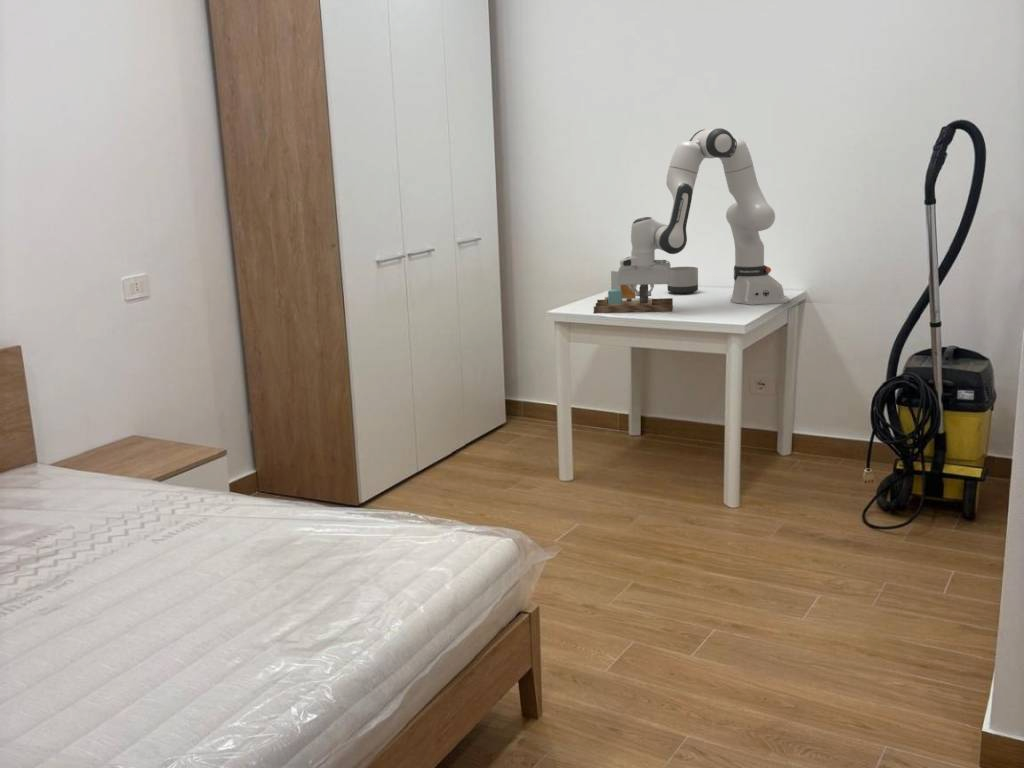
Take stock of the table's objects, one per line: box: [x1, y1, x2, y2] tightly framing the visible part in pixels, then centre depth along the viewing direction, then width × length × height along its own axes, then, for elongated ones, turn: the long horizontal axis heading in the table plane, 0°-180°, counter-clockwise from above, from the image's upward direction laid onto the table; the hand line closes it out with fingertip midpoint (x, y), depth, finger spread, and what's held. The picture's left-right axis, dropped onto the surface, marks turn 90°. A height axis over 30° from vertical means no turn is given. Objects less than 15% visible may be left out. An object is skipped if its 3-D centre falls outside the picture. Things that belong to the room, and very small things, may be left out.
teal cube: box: [607, 289, 622, 304], centre depth 382 cm, size 5×5×5 cm
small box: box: [610, 269, 637, 299], centre depth 402 cm, size 8×6×13 cm
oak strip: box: [603, 286, 652, 306], centre depth 381 cm, size 18×6×8 cm, turn 80°
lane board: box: [593, 297, 674, 314], centre depth 385 cm, size 30×17×2 cm, turn 80°
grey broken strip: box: [622, 284, 653, 302], centre depth 389 cm, size 18×6×8 cm, turn 80°
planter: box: [666, 266, 699, 295], centre depth 417 cm, size 13×13×10 cm
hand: (643, 296), depth 380 cm, fingers closed on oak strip, 3 cm apart
